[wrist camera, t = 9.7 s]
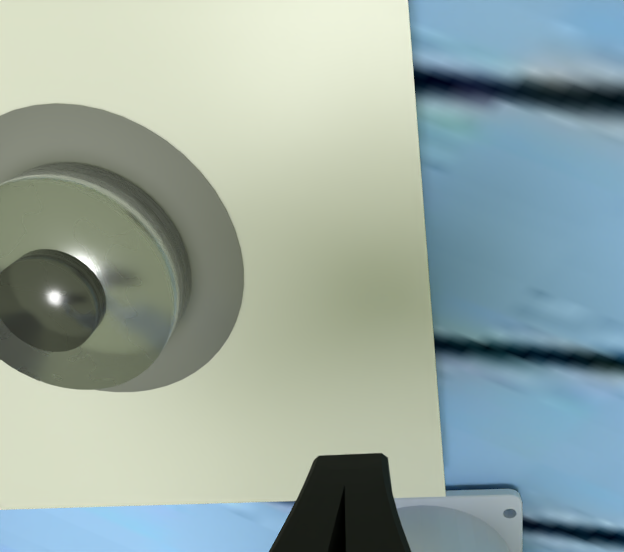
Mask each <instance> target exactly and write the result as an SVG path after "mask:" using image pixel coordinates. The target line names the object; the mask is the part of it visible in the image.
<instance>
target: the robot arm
mask: <svg viewBox="0 0 624 552" xmlns="http://www.w3.org/2000/svg"><path fill="white" fill-rule="evenodd" d="M445 492H446V497H413V498H394V497H393V493H392V486H391V478H390V470H389V462H388V457H386V456H385V455H384V454H382V453H367V454H344V455H320V456H318V457H317V458H316V459H315V460H314V461H313V463H312V466H311V468H310V471H309V473H308V476H307V478H306V480H305V482H304V485H303V487H302V489H301V491H300V493H299V495H298V498H297V500H296V502H295V504H294V506H293V508H292V510H291V512H290V514H289V516H288V518H287V519H286V521H285V523H284V525H283V527H282V529H281V531H280V532H279V534H278V536H277V538H276V540H275V542H274V543H273V545H272V547H271V549H270V551H269V552H522V500H521V496H520V494H519V493H518V492H517V491H515V490H513V489H483V490H451V491H445ZM507 509H512V510H509V511H507Z"/></svg>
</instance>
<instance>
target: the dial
mask: <svg viewBox="0 0 624 552" xmlns="http://www.w3.org/2000/svg"><path fill="white" fill-rule="evenodd" d="M190 292H191V268H190V262H189V258H188V254H187V251H186V248H185V245H184V243H183V241H182V238H181V236H180V234H179V232H178V230H177V229H176V227H175V225H174V224H173V222H172V221H171V219H170V218H169V217H168V215H167V214H166V213H165V211H164V210H163V209H162V208H161V207H160V206H159V205H158V204H157V203H156V202H155V201H154V200H153V199H152V198H151V197H150V196H149V195H148V194H146V193H145V192H144V191H143V190H142V189H140V188H139V187H137V186H136V185H134V184H133V183H131V182H130V181H128V180H127V179H125V178H123V177H121V176H119V175H117V174H115V173H113V172H110V171H107V170H105V169H102V168H99V167H95V166H91V165H87V164H81V163H72V162H58V163H50V164H44V165H40V166H37V167H34V168H31V169H28V170H26V171H24V172H22V173H20V174H18V175H16V176H15V177H13V178H11V179H9V180H7V181H5V182H3V183H1V184H0V360H2V361H3V362H5V363H6V364H7V365H9V366H10V367H12V368H14V369H16V370H17V371H19V372H21V373H23V374H25V375H27V376H29V377H31V378H33V379H36V380H38V381H41V382H44V383H47V384H50V385H54V386H58V387H62V388H69V389H77V390H95V389H104V388H109V387H113V386H117V385H120V384H123V383H125V382H128V381H130V380H131V379H133V378H135V377H137V376H139V375H140V374H141V373H143V372H144V371H145V370H147V369H148V368H149V367H150V366H151V365H152V364H153V363H154V361H155V360H156V359H157V357H158V356H159V355H160V353H161V352H162V350H163V348H164V347H165V345H166V343H167V342H168V340H169V339H170V337H171V335H172V334H173V332H174V330H175V329H176V327H177V325H178V324H179V322H180V320H181V319H182V317H183V315H184V312H185V310H186V308H187V305H188V301H189V298H190Z"/></svg>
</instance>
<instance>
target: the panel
mask: <svg viewBox="0 0 624 552" xmlns="http://www.w3.org/2000/svg"><path fill="white" fill-rule="evenodd" d="M58 162H72V163H81V164H87V165H91V166H95V167H99V168H102V169H105V170H107V171H110V172H113V173H115V174H117V175H119V176H121V177H123V178H125V179H127V180H128V181H130V182H131V183H133V184H134V185H136V186H137V187H139V188H140V189H142V190H143V191H144V192H145V193H146V194H148V195H149V196H150V197H151V198H152V199H153V200H154V201H155V202H156V203H157V204H158V205H159V206H160V207H161V208H162V209H163V210H164V211H165V213H166V214H167V215H168V217H169V218H170V219H171V221H172V222H173V224H174V225H175V227H176V229H177V230H178V232H179V234H180V236H181V238H182V241H183V243H184V245H185V248H186V251H187V254H188V258H189V262H190V268H191V292H190V298H189V301H188V305H187V308H186V310H185V312H184V315H183V317H182V319H181V320H180V322H179V324H178V325H177V327H176V329H175V330H174V332H173V334H172V335H171V337H170V339H169V340H168V342H167V343H166V345H165V347H164V348H163V350H162V352H161V353H160V355H159V356H158V357H157V359H156V360H155V361H154V363H153V364H152V365H151V366H150V367H149V368H148V369H147V370H145V371H144V372H143V373H141V374H140V375H139V376H137V377H135V378H133V379H131V380H130V381H128V382H125V383H123V384H120V385H117V386H113V387H109V388H104V389H95V390H77V389H69V388H62V387H58V386H54V385H50V384H47V383H44V382H41V381H38V380H36V379H33V378H31V377H29V376H27V375H25V374H23V373H21V372H19V371H17V370H16V369H14V368H12V367H10V366H9V365H7V364H6V363H5V362H3V361H2V360H0V510H5V509H39V508H73V507H107V506H141V505H175V504H209V503H243V502H277V501H296V500H297V498H298V495H299V493H300V491H301V489H302V487H303V485H304V482H305V480H306V478H307V476H308V473H309V471H310V468H311V466H312V463H313V461H314V460H315V459H316V458H317V457H318V456H320V455H344V454H367V453H382V454H384V455H385V456H386V457H388V462H389V470H390V478H391V486H392V493H393V497H394V498H413V497H446V492H445V479H444V466H443V452H442V439H441V426H440V413H439V400H438V387H437V374H436V361H435V348H434V335H433V322H432V309H431V296H430V283H429V270H428V256H427V243H426V230H425V217H424V204H423V191H422V178H421V165H420V152H419V139H418V126H417V113H416V100H415V87H414V74H413V61H412V47H411V34H410V21H409V8H408V0H0V184H1V183H3V182H5V181H7V180H9V179H11V178H13V177H15V176H16V175H18V174H20V173H22V172H24V171H26V170H28V169H31V168H34V167H37V166H40V165H44V164H50V163H58Z"/></svg>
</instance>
